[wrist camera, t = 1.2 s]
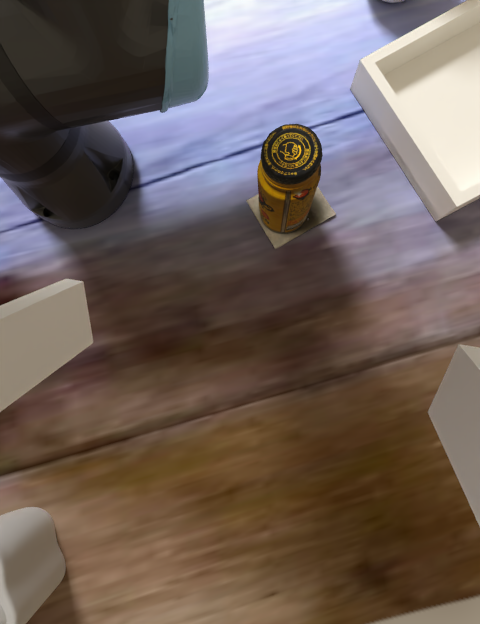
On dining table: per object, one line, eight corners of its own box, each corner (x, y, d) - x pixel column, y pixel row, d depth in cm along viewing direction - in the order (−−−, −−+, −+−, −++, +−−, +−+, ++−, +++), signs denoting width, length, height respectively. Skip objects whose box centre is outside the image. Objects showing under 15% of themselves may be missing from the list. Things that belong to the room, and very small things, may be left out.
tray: (350, 89, 38) (359, 59, 34) (493, 10, 37) (520, -30, 33) (435, 221, 35) (457, 206, 32) (590, 139, 35) (631, 113, 31)
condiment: (246, 201, 38) (237, 137, 26) (304, 167, 38) (323, 87, 26) (275, 249, 37) (280, 207, 25) (335, 215, 37) (369, 155, 25)
